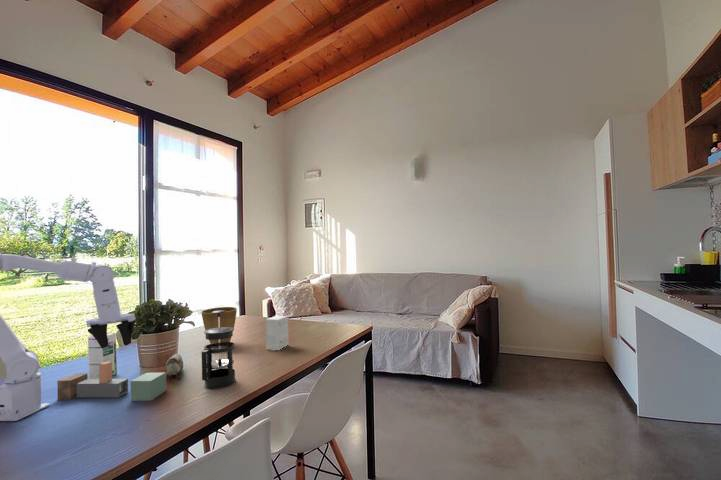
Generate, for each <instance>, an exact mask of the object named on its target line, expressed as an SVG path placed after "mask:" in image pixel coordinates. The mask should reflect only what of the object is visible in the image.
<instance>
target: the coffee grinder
mask: <svg viewBox="0 0 721 480" xmlns="http://www.w3.org/2000/svg"><path fill="white" fill-rule="evenodd" d="M223 312H226V311H224V310H217V311H213V312H212V313H217V317H218V326H219V327H218V328H212V329H208V330H204V331H203V334H205V340H208V341H209V340H219V342H217V343H212V344H210V343H209V344H206V345H205V346H204V347H203V348H204V349H203V350H202V351H201V380H202V382H203V381H204V384H203V386H204V388H205V389H210V390H218V389H224V388H228V387H230V386H232V385H234V384H235V383H236V381H237V379H236V370H235V369H234V367H233V365H234V362H235V361H234V360H233V350H234V349H235V342H232V341H230V342H220V339H226V338H229V337H231V338H232V337H233V336H234V335H233V334H234V330H235V327H234V328H232V327H220V314H221V313H223ZM218 346H219V347H218ZM220 346H224V347H220ZM222 353H223V354H224V353H227V356H226V357H227V358H221V354H222ZM212 354H218V359H215V360H213V355H212Z"/></svg>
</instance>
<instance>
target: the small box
mask: <svg viewBox="0 0 721 480" xmlns="http://www.w3.org/2000/svg"><path fill="white" fill-rule="evenodd" d="M264 321H265V342H266V345H265V347H266V350H267V349H273V350H272V351H275V350H279V351H281V350H283V349H284V348H283V347H285V346H287V345H289V343H290V342H289V341H290V340H289V339H290V338H289V317H288V316H287V315H273V316H272V317H269V318H266V319H265V320H264ZM287 347H288V346H287ZM282 348H283V349H282ZM285 348H286V347H285ZM280 349H281V350H280Z"/></svg>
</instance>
